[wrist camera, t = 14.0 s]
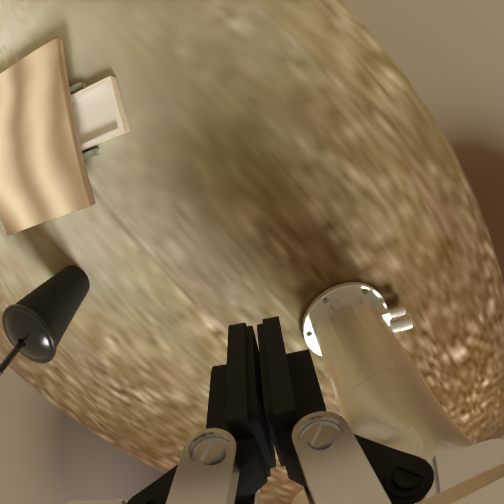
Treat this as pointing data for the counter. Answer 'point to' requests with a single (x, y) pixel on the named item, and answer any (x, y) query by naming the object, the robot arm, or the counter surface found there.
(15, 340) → the drinking cup
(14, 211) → the shelf
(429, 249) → the counter surface
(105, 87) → the white rectangular tray
